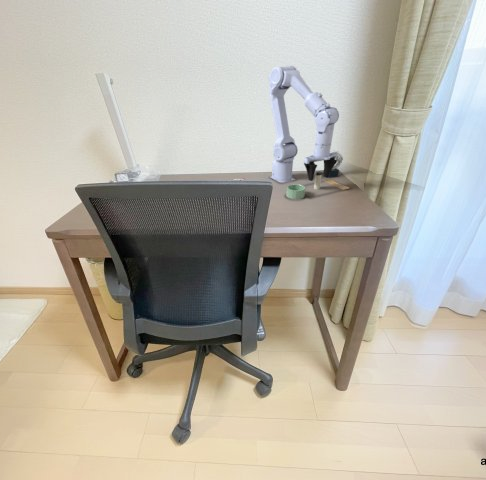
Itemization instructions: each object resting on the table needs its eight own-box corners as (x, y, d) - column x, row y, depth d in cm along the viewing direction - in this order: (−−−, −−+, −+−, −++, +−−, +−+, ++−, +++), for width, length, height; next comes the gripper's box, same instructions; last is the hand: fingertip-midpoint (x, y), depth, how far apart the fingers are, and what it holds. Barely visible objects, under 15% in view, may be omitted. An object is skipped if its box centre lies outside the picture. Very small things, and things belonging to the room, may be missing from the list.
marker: (312, 188, 107) (314, 171, 103) (317, 187, 108) (319, 170, 104) (316, 190, 105) (318, 173, 102) (320, 189, 106) (323, 172, 102)
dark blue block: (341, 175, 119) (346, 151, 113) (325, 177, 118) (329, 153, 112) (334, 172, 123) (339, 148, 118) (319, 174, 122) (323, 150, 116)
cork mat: (291, 188, 109) (291, 187, 109) (329, 180, 115) (329, 179, 115) (309, 198, 100) (310, 197, 100) (349, 188, 106) (350, 187, 105)
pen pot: (282, 195, 103) (283, 186, 101) (297, 191, 106) (298, 183, 103) (292, 201, 98) (293, 192, 96) (308, 197, 100) (309, 188, 98)
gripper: (314, 148, 92) (309, 184, 99) (346, 143, 96) (339, 178, 103) (302, 144, 97) (298, 179, 105) (332, 139, 102) (327, 173, 109)
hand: (318, 178), depth 104 cm, fingers open, 7 cm apart
